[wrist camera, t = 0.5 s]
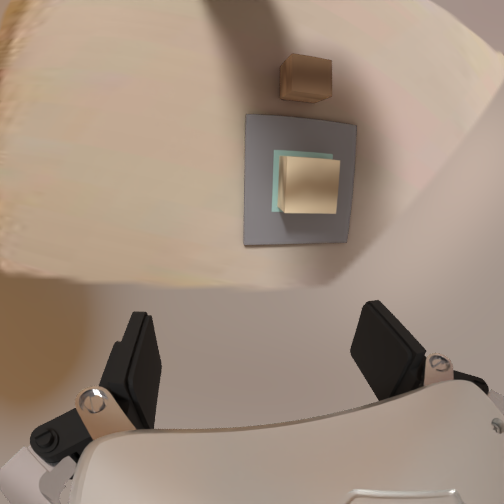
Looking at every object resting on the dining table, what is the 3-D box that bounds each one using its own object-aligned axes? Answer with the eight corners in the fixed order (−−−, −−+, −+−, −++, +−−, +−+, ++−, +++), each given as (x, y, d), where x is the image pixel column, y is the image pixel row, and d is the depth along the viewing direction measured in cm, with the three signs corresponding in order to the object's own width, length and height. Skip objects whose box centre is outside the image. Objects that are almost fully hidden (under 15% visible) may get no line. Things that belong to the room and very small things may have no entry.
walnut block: (280, 66, 31) (292, 53, 25) (314, 71, 31) (331, 60, 26) (279, 99, 32) (291, 90, 27) (314, 103, 33) (331, 96, 28)
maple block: (279, 155, 35) (287, 156, 31) (327, 158, 36) (340, 160, 32) (277, 206, 37) (284, 213, 34) (324, 207, 38) (336, 213, 34)
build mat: (245, 114, 33) (246, 113, 32) (355, 125, 35) (356, 125, 34) (243, 243, 39) (244, 245, 39) (345, 241, 41) (347, 242, 41)
